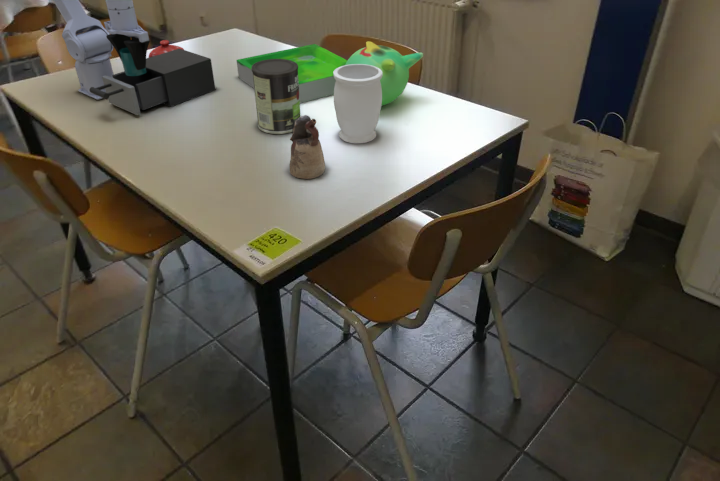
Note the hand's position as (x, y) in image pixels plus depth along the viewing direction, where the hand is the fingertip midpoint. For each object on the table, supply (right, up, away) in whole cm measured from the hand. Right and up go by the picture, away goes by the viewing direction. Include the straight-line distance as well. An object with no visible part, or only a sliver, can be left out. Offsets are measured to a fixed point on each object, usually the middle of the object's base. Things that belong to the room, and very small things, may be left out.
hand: (134, 66), depth 137 cm
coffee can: (+36, -15, -3) cm, 39 cm away
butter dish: (0, +6, +26) cm, 26 cm away
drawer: (-1, -8, +4) cm, 9 cm away
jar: (+54, -18, -7) cm, 58 cm away
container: (0, -1, +1) cm, 2 cm away
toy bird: (+59, -7, +8) cm, 60 cm away
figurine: (+44, -28, -20) cm, 56 cm away
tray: (+38, +1, +19) cm, 43 cm away
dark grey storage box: (+7, -3, +13) cm, 15 cm away
